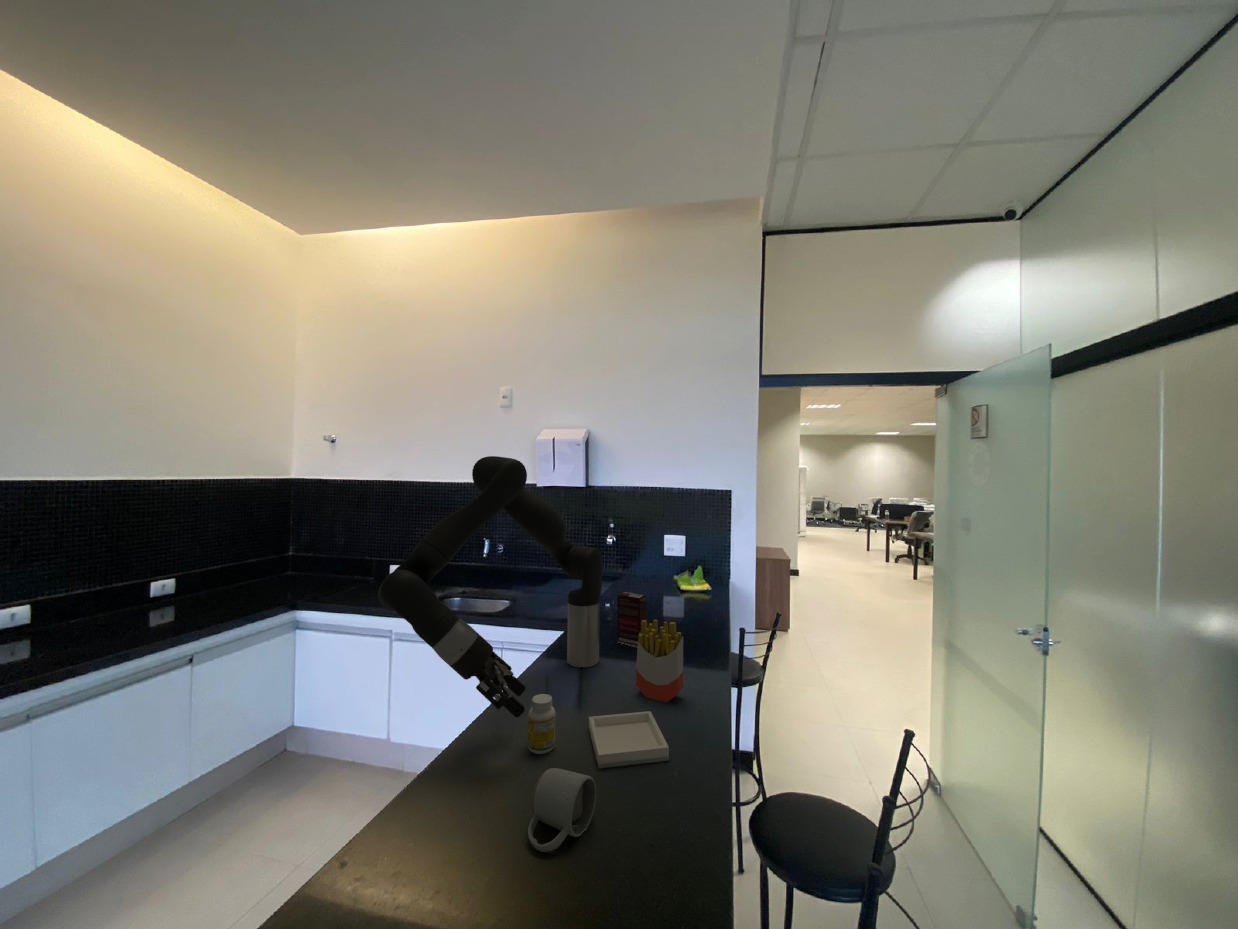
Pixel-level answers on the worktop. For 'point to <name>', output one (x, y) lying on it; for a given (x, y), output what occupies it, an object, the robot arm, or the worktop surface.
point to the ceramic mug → (562, 804)
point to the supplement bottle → (541, 725)
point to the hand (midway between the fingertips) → (522, 702)
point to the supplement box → (630, 617)
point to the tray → (627, 739)
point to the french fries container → (659, 661)
